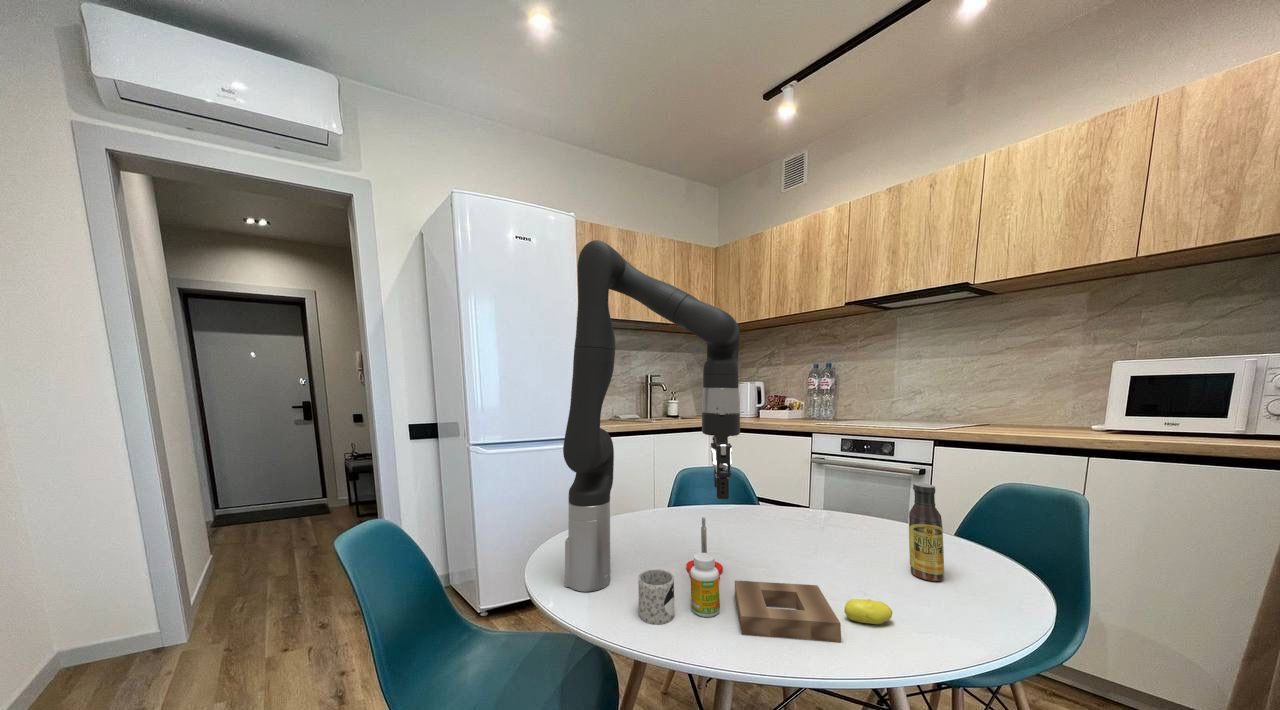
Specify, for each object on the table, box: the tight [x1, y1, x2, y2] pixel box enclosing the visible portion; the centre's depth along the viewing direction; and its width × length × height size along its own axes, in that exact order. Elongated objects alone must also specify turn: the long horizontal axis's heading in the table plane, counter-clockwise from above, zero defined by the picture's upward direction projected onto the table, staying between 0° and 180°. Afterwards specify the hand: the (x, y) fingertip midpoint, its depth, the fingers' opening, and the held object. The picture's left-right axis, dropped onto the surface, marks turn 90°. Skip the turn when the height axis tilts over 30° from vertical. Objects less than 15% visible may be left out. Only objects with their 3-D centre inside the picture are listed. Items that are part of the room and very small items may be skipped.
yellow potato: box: [844, 598, 893, 625], centre depth 71 cm, size 4×8×4 cm, turn 78°
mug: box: [638, 568, 675, 626], centre depth 76 cm, size 10×7×7 cm
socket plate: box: [734, 580, 842, 643], centre depth 73 cm, size 16×13×3 cm
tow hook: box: [685, 516, 724, 580], centre depth 93 cm, size 8×13×9 cm
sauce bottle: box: [908, 482, 945, 582], centre depth 89 cm, size 6×6×20 cm
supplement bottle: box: [689, 552, 721, 618], centre depth 76 cm, size 5×5×10 cm
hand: (721, 492), depth 79 cm, fingers open, 8 cm apart
